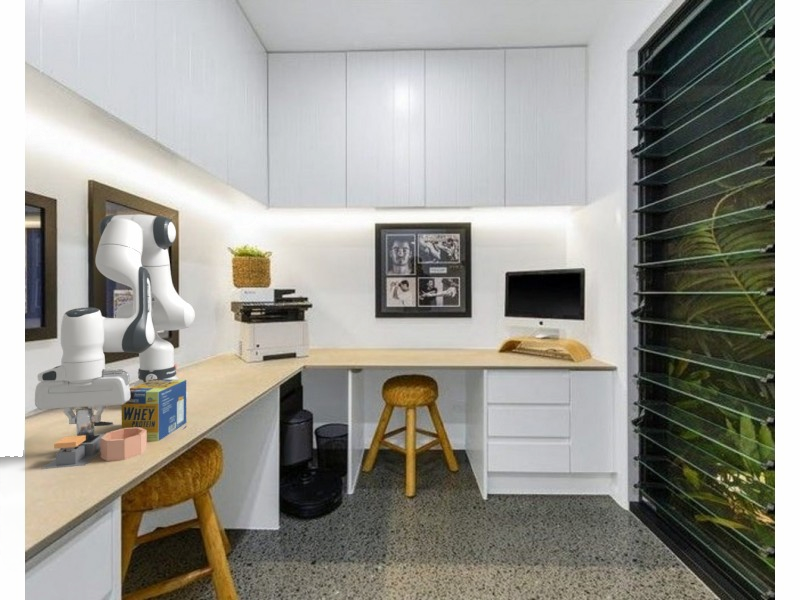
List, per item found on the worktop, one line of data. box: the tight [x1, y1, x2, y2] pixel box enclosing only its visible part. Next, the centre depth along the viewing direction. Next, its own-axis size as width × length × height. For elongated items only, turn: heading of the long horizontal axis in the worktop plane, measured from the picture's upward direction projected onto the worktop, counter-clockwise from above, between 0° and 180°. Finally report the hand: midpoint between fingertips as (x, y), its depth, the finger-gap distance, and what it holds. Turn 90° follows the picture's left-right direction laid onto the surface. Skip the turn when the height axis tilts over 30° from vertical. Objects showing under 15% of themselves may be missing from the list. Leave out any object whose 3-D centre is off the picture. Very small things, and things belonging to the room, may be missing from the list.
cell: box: [75, 406, 95, 440], centre depth 102 cm, size 4×4×8 cm
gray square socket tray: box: [40, 433, 106, 470], centre depth 99 cm, size 13×9×4 cm
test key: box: [53, 435, 86, 451], centre depth 96 cm, size 4×4×5 cm
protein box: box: [120, 379, 187, 442], centre depth 117 cm, size 10×15×16 cm
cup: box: [100, 427, 148, 462], centre depth 101 cm, size 9×9×6 cm
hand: (85, 422), depth 103 cm, fingers closed on cell, 4 cm apart
